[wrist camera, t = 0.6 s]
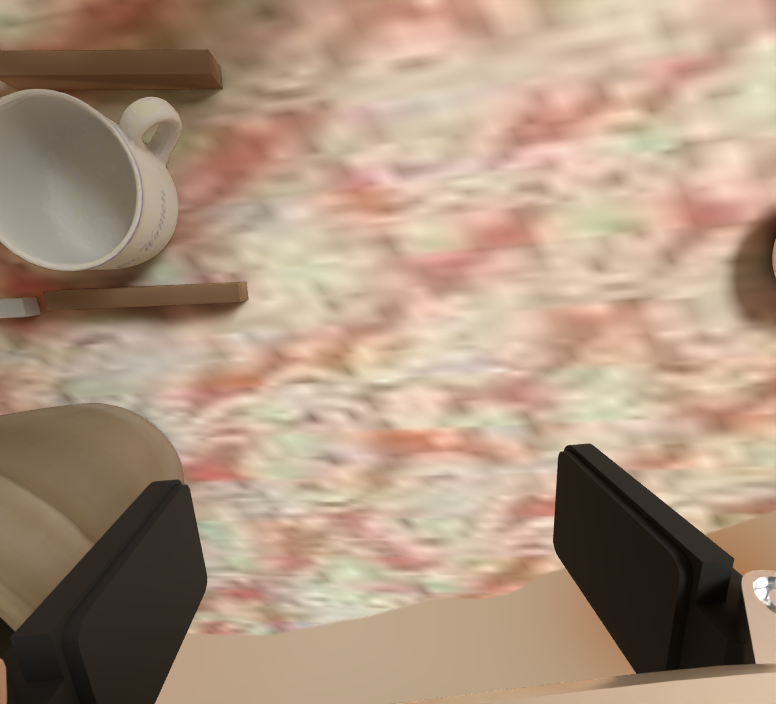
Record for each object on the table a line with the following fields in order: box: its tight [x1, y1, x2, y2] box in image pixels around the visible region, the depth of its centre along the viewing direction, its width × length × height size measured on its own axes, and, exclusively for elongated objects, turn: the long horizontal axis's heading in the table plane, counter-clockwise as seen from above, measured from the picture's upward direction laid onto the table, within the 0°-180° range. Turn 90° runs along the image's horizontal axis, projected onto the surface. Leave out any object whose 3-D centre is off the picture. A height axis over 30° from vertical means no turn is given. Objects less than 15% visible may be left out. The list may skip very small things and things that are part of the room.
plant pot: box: [0, 403, 184, 658], centre depth 27 cm, size 25×25×22 cm
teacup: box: [0, 89, 182, 271], centre depth 28 cm, size 14×11×8 cm
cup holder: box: [0, 50, 248, 311], centre depth 31 cm, size 18×15×2 cm
